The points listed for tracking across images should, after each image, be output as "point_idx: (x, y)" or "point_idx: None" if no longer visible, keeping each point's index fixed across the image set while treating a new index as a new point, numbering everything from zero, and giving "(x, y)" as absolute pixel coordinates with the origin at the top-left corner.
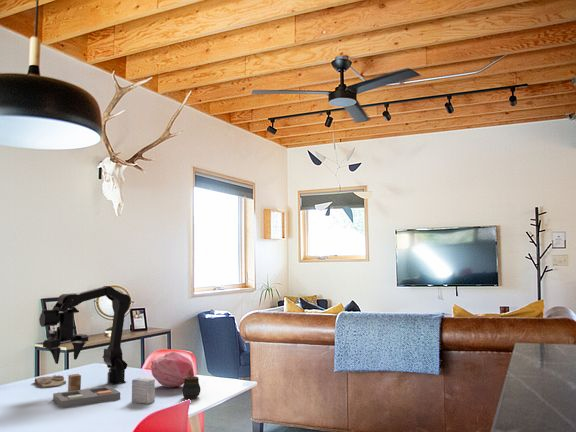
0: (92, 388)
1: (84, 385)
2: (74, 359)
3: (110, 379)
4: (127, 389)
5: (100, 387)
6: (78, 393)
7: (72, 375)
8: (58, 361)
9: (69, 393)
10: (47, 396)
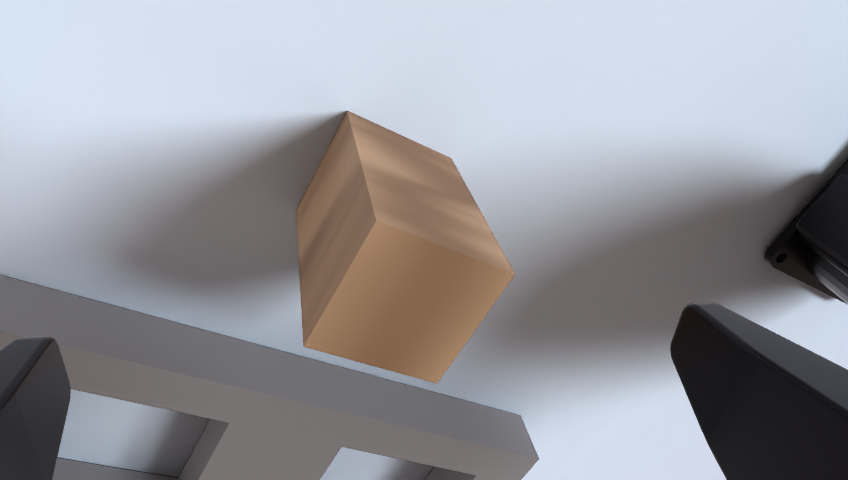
0: (392, 436)
1: (691, 17)
2: (682, 312)
3: (823, 247)
4: (635, 448)
5: (456, 454)
6: (216, 437)
7: (375, 302)
8: (51, 465)
9: (144, 395)
10: (27, 73)
